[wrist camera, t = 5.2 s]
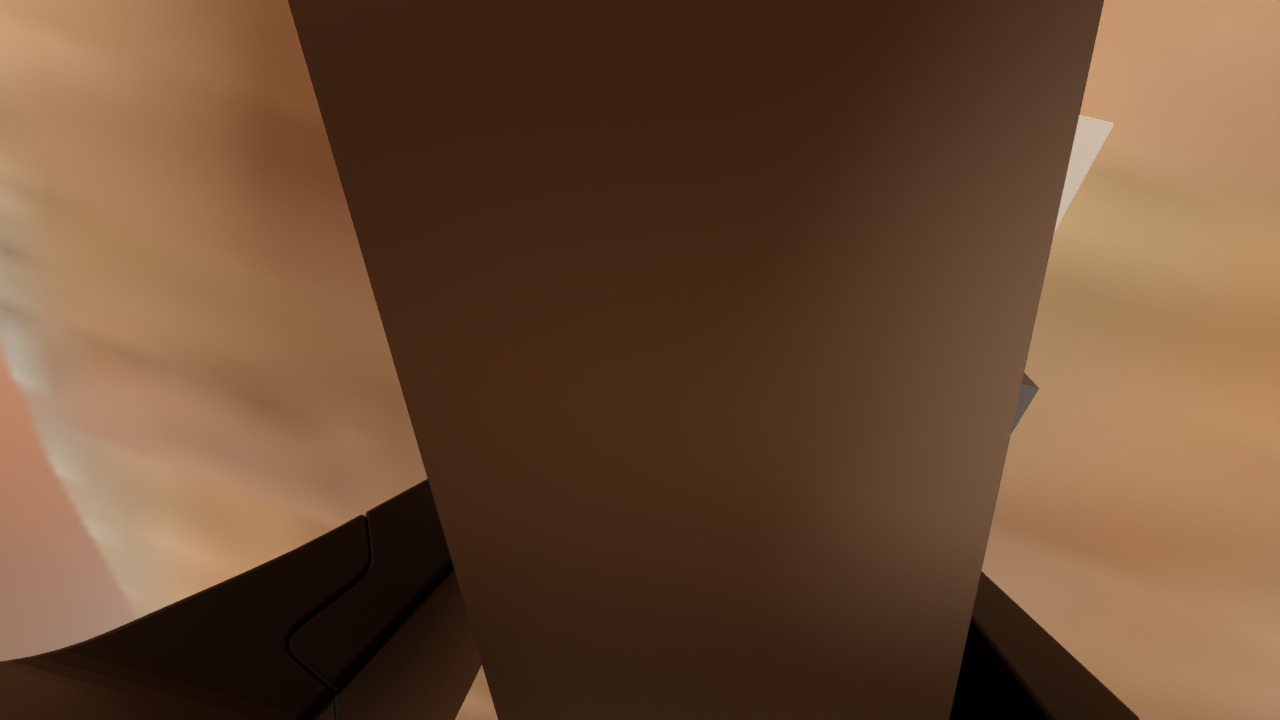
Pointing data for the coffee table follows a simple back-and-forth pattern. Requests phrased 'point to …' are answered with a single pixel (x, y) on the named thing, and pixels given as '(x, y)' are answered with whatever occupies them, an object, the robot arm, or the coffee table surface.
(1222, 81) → the coffee table surface
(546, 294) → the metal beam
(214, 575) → the coffee table surface
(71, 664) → the robot arm
